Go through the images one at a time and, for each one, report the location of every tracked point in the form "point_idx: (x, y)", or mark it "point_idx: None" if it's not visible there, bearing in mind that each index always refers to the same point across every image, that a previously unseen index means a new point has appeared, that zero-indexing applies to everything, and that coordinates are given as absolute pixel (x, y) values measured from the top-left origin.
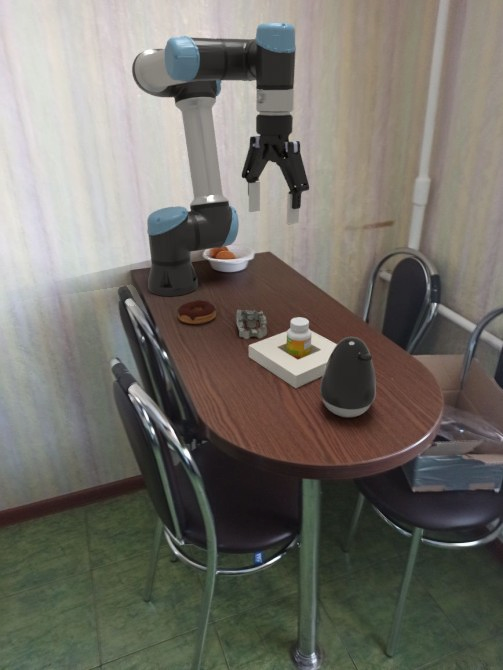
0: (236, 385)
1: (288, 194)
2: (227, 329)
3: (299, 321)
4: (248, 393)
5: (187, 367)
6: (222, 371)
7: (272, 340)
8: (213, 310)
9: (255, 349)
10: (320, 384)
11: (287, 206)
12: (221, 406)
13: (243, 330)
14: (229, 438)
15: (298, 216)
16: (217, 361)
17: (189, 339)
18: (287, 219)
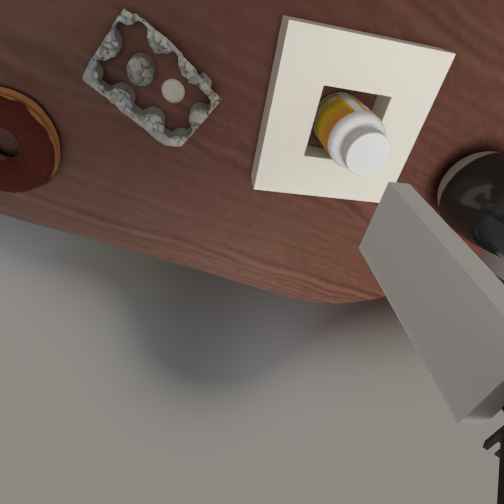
0: (294, 242)
1: (461, 412)
2: (119, 125)
3: (368, 157)
4: (322, 243)
5: (199, 261)
6: (250, 234)
7: (279, 141)
8: (35, 120)
9: (275, 190)
10: (445, 219)
11: (406, 328)
12: (310, 279)
13: (180, 135)
14: (354, 301)
15: (428, 206)
16: (219, 222)
17: (111, 210)
18: (374, 266)
